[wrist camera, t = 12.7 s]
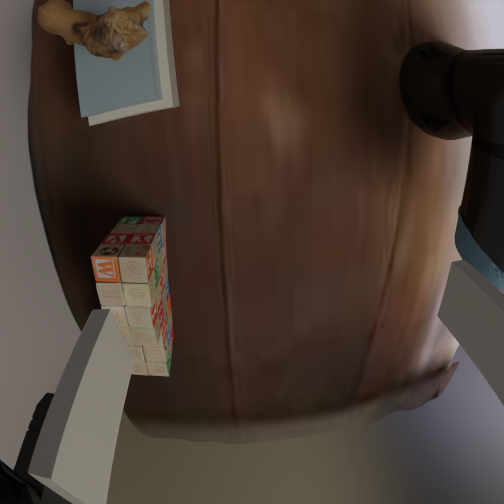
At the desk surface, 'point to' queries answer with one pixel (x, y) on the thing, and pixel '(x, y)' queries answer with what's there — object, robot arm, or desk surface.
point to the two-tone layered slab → (128, 69)
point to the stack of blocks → (138, 290)
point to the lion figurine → (96, 27)
